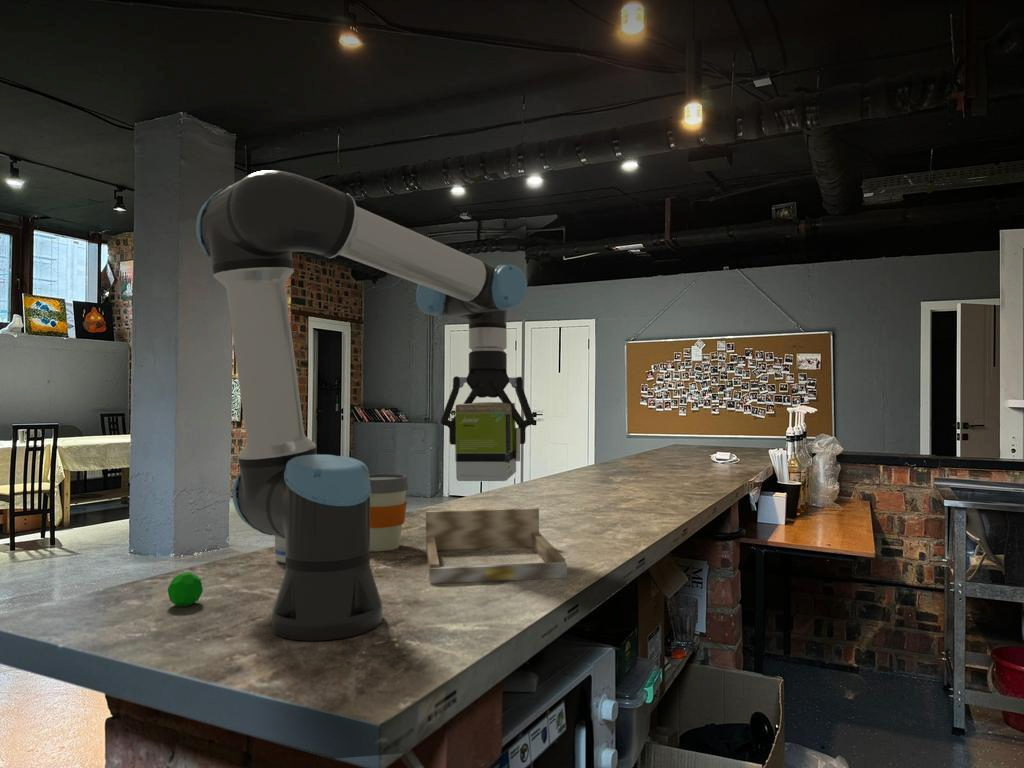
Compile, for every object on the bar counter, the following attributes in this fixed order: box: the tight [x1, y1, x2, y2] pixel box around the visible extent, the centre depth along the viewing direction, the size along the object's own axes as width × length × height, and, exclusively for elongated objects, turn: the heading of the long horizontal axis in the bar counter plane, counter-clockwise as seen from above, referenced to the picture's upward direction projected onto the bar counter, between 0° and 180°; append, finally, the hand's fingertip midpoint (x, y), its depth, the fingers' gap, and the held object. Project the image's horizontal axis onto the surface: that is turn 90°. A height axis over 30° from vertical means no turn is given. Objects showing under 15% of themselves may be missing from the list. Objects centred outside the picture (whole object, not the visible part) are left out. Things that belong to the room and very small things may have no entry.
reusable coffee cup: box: [369, 473, 409, 552], centre depth 151 cm, size 13×13×15 cm
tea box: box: [455, 401, 517, 482], centre depth 139 cm, size 15×10×15 cm
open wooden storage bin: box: [425, 507, 568, 585], centre depth 136 cm, size 24×28×8 cm
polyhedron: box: [167, 572, 204, 607], centre depth 109 cm, size 5×5×5 cm
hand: (487, 461), depth 139 cm, fingers closed on tea box, 11 cm apart
